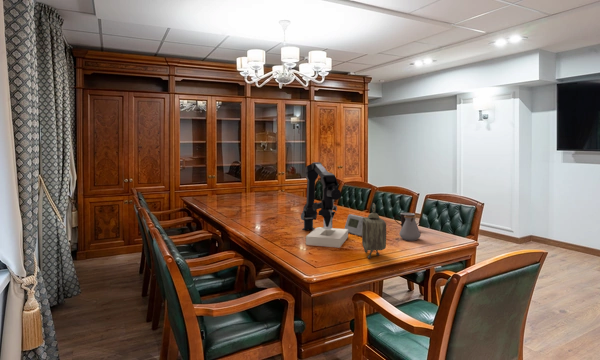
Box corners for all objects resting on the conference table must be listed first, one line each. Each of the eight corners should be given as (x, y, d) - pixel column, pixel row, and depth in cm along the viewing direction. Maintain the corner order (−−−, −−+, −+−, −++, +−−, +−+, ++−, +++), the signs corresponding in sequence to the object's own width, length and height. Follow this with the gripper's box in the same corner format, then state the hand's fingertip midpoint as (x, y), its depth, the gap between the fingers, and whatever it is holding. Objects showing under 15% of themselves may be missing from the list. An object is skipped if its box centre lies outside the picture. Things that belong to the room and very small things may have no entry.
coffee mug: (416, 229, 235) (416, 213, 234) (412, 231, 228) (412, 215, 227) (397, 227, 241) (398, 211, 240) (393, 229, 234) (393, 213, 233)
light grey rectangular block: (325, 227, 207) (325, 216, 207) (332, 228, 206) (332, 217, 206) (323, 229, 203) (323, 218, 203) (330, 229, 202) (330, 218, 202)
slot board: (317, 234, 219) (317, 227, 219) (348, 237, 214) (348, 229, 214) (305, 244, 197) (305, 236, 196) (339, 247, 191) (339, 238, 191)
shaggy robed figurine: (361, 251, 185) (362, 200, 182) (380, 251, 184) (381, 201, 182) (366, 260, 170) (367, 205, 168) (386, 260, 170) (387, 205, 168)
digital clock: (342, 231, 229) (343, 214, 228) (355, 230, 232) (356, 213, 231) (356, 237, 214) (356, 218, 213) (370, 236, 217) (370, 217, 216)
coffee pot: (398, 236, 216) (399, 210, 215) (419, 237, 214) (420, 211, 213) (400, 245, 196) (401, 217, 194) (423, 247, 193) (424, 218, 192)
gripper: (318, 194, 214) (317, 221, 216) (309, 199, 197) (309, 228, 198) (337, 195, 211) (337, 222, 213) (330, 200, 193) (329, 229, 195)
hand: (327, 225), depth 205 cm, fingers closed on light grey rectangular block, 4 cm apart
